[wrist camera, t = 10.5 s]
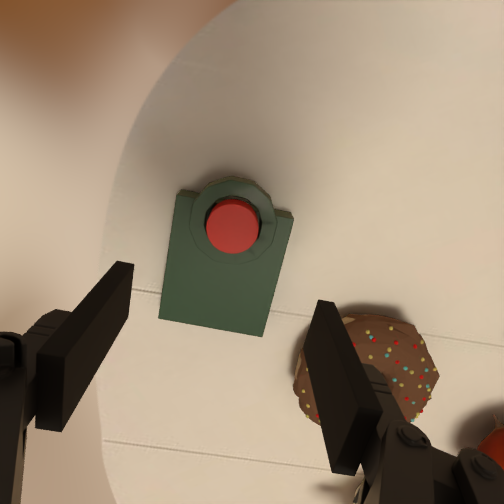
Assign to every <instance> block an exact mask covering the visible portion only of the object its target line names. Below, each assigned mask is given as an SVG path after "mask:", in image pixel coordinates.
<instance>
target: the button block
mask: <svg viewBox="0 0 504 504" xmlns="http://www.w3.org/2000/svg"><path fill="white" fill-rule="evenodd" d="M231 195H232V196H236V197H241V198H246V199H247V200H248V201H249V202H251V203H252V204H253V205H252V204H249V205H250V206H251V207H252V208H253V209H254V211H255V213H256V215H257V218H258V227H259V231H258V236H257V239H256V241H255V242H254V244H253V245H252V246H251V247H250V248H249V249H247V250H245V251H243V252H241V253H235V254H230V253H225V252H222V251H220V250H218V249H217V248H216V247H214V246H213V245H212V243H211V242H210V240H209V238H208V236H207V232H206V225H207V220H208V218H209V215H210V213H211V211H212V209H213V208H214V207H215V206H216V205H217V204H218V203H220V202H221V201H224V200H227V199H224V197H228V196H231ZM293 221H294V218H293V216H292V214H291V213H290V212H285V211H281V210H276V209H274V208H273V204H272V201H271V198H270V196H269V195H268V194H267V193H266V192H265V191H264V190H263V189H262V188H261V187H260V186H259V185H258V184H256V183H255V182H254V181H252V180H248V179H243V178H239V177H234V176H229V177H226V178H223V179H220V180H217V181H214V182H210V183H209V184H208V185H207V186H206V187H205V188H204V190H203V191H202V192H201V193H196V192H191V191H187V190H182V189H181V190H180V191H179V192H178V194H177V195H176V202H175V208H174V215H173V222H172V229H171V235H170V242H169V249H168V256H167V262H166V269H165V276H164V282H163V289H162V296H161V303H160V309H159V316H158V318H159V319H164V320H170V321H175V322H181V323H186V324H192V325H197V326H203V327H208V328H214V329H219V330H225V331H231V332H236V333H242V334H247V335H253V336H258V337H262V336H263V333H264V329H265V325H266V321H267V318H268V314H269V310H270V307H271V303H272V299H273V296H274V292H275V288H276V284H277V281H278V277H279V273H280V270H281V266H282V262H283V258H284V255H285V251H286V247H287V244H288V240H289V236H290V233H291V229H292V225H293Z"/></svg>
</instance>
